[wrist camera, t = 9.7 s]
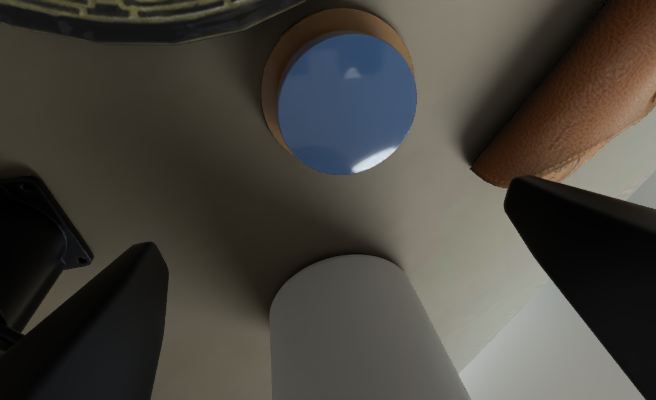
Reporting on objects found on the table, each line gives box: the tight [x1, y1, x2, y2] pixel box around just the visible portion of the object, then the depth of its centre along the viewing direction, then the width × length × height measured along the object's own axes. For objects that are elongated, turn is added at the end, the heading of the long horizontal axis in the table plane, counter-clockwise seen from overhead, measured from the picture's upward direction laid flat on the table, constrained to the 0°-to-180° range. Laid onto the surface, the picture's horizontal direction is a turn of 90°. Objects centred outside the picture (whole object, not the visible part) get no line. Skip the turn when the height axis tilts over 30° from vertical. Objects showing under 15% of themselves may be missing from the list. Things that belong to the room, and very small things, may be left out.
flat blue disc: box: [276, 30, 417, 175], centre depth 17 cm, size 7×7×2 cm
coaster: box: [261, 8, 414, 157], centre depth 18 cm, size 9×9×1 cm
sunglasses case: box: [470, 0, 656, 188], centre depth 18 cm, size 18×7×7 cm, turn 152°
